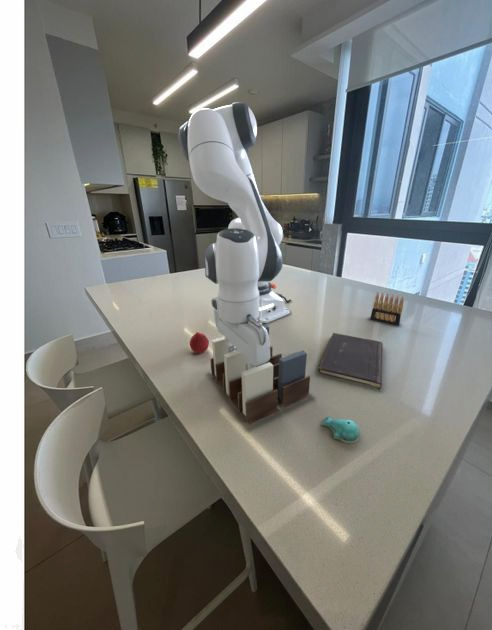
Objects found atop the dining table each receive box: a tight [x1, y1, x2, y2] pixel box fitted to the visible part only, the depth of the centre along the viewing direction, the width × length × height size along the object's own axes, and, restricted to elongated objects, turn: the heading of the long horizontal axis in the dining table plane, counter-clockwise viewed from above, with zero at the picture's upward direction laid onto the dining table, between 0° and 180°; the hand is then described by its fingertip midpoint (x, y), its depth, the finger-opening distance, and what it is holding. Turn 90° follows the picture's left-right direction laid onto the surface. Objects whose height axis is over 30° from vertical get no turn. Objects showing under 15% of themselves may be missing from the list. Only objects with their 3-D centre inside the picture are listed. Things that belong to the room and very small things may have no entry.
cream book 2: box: [224, 350, 249, 397], centre depth 63 cm, size 7×2×11 cm, turn 121°
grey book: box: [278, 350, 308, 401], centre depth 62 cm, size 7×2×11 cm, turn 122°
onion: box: [189, 330, 210, 354], centre depth 81 cm, size 6×6×8 cm
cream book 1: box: [211, 336, 238, 376], centre depth 69 cm, size 7×2×11 cm, turn 122°
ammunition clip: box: [369, 291, 405, 327], centre depth 102 cm, size 11×2×12 cm, turn 55°
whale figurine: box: [321, 416, 360, 444], centre depth 53 cm, size 6×7×4 cm
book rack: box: [209, 345, 312, 426], centre depth 67 cm, size 18×22×6 cm
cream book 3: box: [242, 362, 273, 416], centre depth 57 cm, size 7×2×11 cm, turn 122°
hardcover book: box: [318, 332, 384, 390], centre depth 79 cm, size 16×23×2 cm
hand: (240, 361), depth 62 cm, fingers open, 8 cm apart
